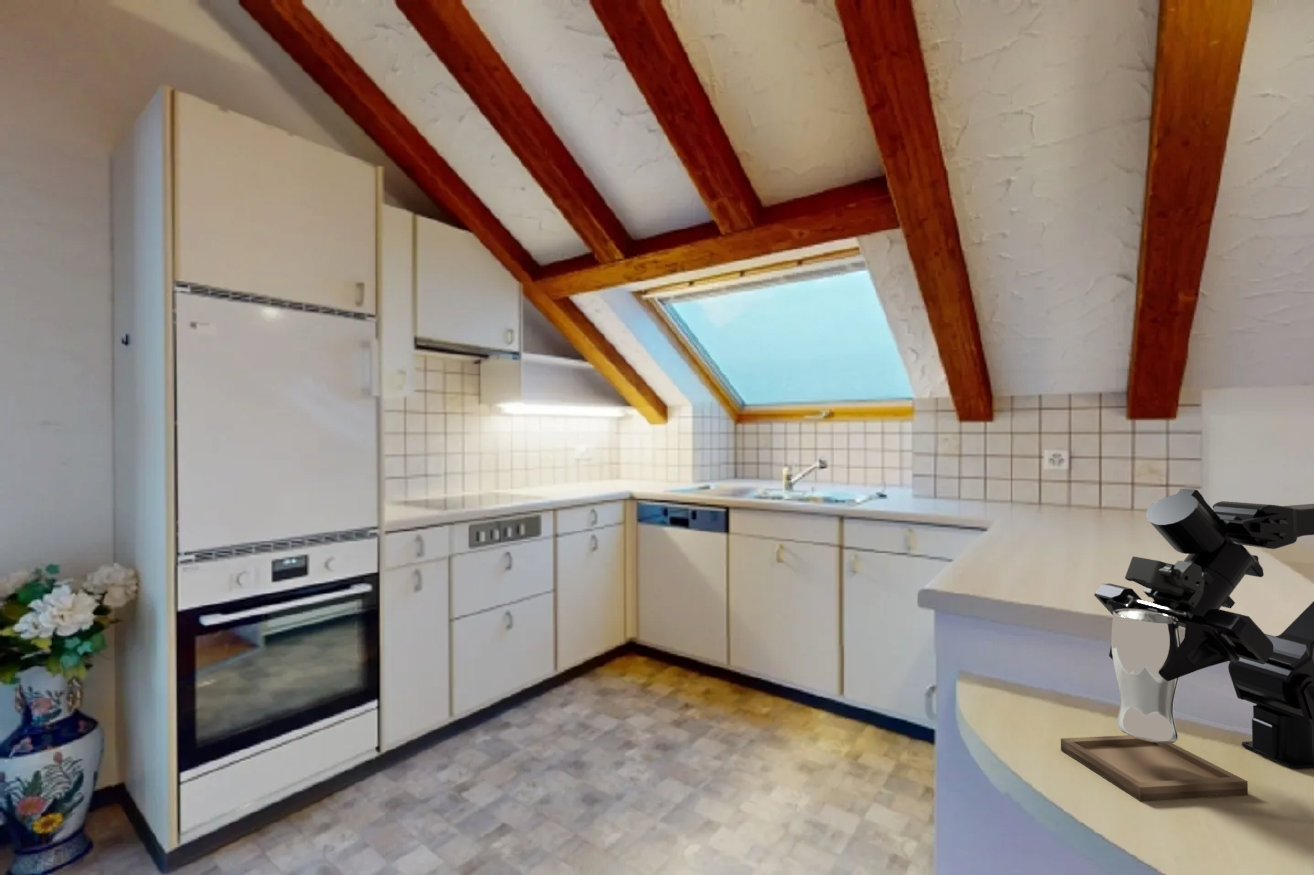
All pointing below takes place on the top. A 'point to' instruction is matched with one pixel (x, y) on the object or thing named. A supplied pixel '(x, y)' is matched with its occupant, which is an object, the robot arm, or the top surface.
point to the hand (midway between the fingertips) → (1137, 668)
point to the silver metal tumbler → (1145, 673)
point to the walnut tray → (1153, 768)
